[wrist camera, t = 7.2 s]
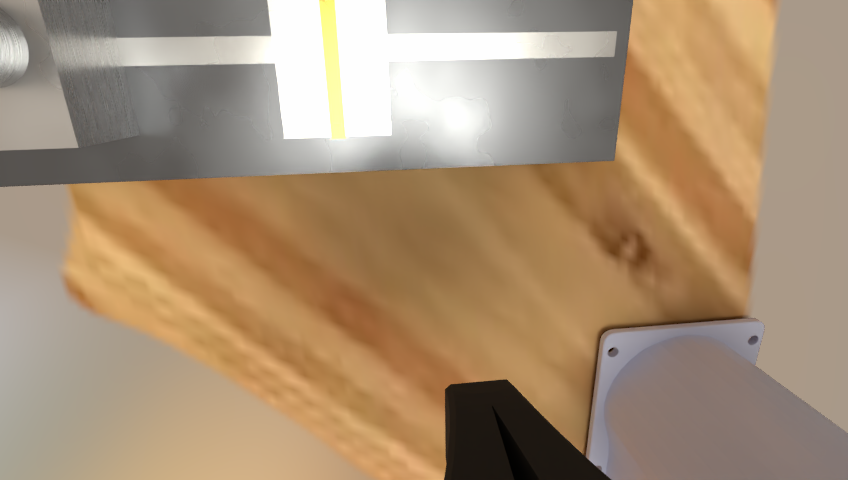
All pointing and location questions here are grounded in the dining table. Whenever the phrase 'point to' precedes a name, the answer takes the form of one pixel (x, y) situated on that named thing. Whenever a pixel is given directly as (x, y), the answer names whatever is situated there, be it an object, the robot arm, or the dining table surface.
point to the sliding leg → (331, 67)
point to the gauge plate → (259, 96)
